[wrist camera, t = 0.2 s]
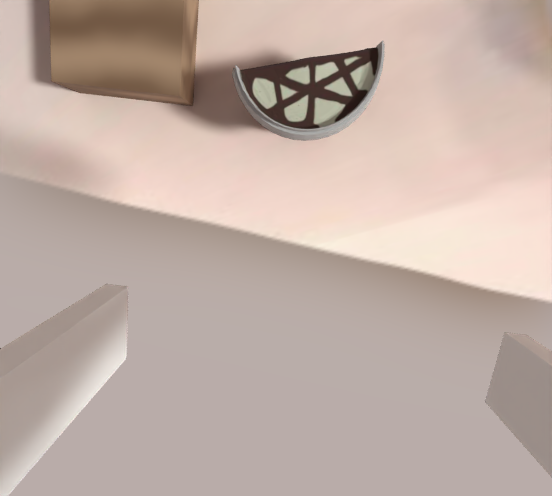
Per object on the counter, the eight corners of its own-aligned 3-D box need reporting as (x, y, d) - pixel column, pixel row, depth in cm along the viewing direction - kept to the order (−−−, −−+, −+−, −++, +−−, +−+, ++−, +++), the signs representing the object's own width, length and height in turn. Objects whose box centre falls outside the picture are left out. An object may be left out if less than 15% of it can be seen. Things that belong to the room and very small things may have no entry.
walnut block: (81, -35, 34) (47, -70, 29) (200, -21, 34) (186, -54, 29) (82, 93, 37) (51, 81, 32) (193, 106, 37) (179, 96, 32)
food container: (252, 155, 37) (241, 148, 27) (243, 95, 36) (228, 66, 26) (366, 138, 37) (396, 125, 27) (361, 76, 35) (390, 39, 25)
